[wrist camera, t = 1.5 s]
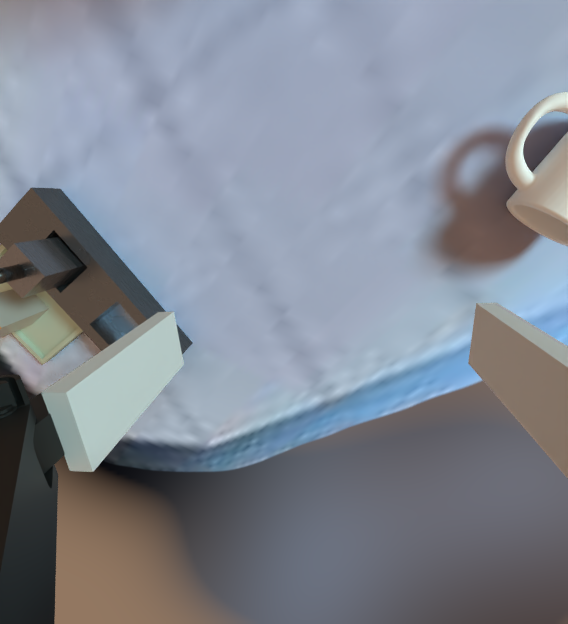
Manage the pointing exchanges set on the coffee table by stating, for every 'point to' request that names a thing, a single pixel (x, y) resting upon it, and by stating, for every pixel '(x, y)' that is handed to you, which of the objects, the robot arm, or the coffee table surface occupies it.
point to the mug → (540, 177)
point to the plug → (18, 311)
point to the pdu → (73, 268)
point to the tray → (46, 328)
